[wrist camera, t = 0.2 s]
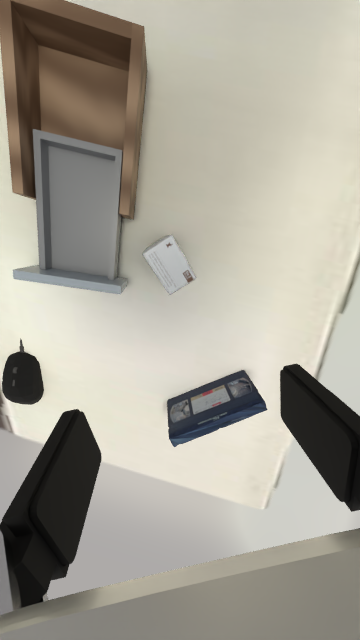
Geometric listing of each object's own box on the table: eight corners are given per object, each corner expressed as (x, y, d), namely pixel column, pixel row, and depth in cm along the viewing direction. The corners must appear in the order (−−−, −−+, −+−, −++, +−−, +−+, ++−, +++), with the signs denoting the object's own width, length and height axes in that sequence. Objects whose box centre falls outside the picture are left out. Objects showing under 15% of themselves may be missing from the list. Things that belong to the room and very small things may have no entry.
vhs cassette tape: (244, 368, 46) (265, 400, 36) (247, 378, 47) (269, 413, 38) (165, 398, 47) (167, 437, 37) (170, 407, 48) (173, 448, 38)
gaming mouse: (40, 338, 40) (27, 348, 36) (45, 401, 44) (35, 416, 41) (3, 335, 39) (-14, 345, 35) (13, 400, 44) (-1, 414, 40)
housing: (31, 35, 26) (-5, -23, 20) (147, 70, 28) (143, 26, 22) (38, 200, 32) (12, 192, 26) (133, 219, 34) (128, 215, 28)
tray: (30, 135, 28) (-2, 109, 22) (137, 161, 30) (132, 142, 24) (37, 272, 34) (13, 278, 28) (126, 285, 36) (120, 294, 30)
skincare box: (144, 249, 35) (137, 253, 24) (167, 234, 35) (171, 231, 23) (164, 280, 37) (167, 297, 26) (186, 266, 37) (198, 278, 26)
